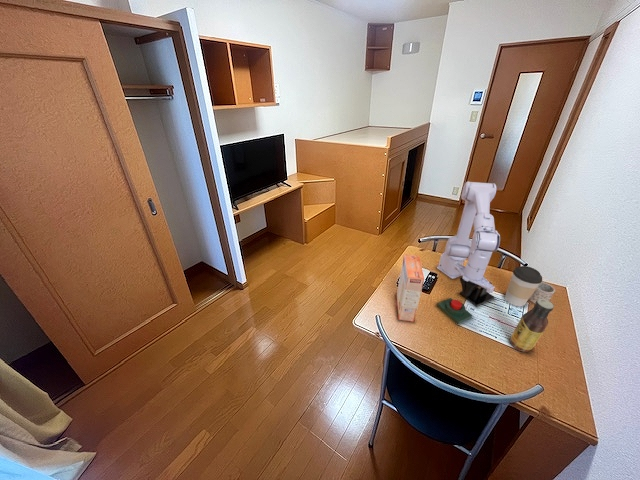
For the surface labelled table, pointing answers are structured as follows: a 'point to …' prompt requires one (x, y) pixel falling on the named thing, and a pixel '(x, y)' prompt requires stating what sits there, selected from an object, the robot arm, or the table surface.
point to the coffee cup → (522, 285)
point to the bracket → (479, 296)
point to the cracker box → (409, 287)
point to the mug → (542, 292)
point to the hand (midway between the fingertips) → (465, 294)
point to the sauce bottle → (531, 326)
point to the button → (456, 304)
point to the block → (454, 311)
